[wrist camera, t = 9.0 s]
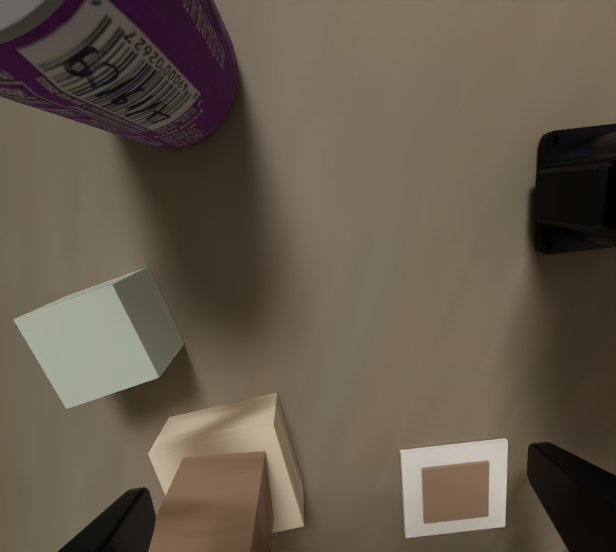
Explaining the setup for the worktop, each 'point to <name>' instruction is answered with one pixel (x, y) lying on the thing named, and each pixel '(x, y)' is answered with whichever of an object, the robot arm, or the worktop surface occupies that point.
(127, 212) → the worktop surface
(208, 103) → the beverage can
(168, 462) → the beech base
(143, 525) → the robot arm
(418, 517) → the swatch
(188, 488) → the walnut block
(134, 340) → the sage block
